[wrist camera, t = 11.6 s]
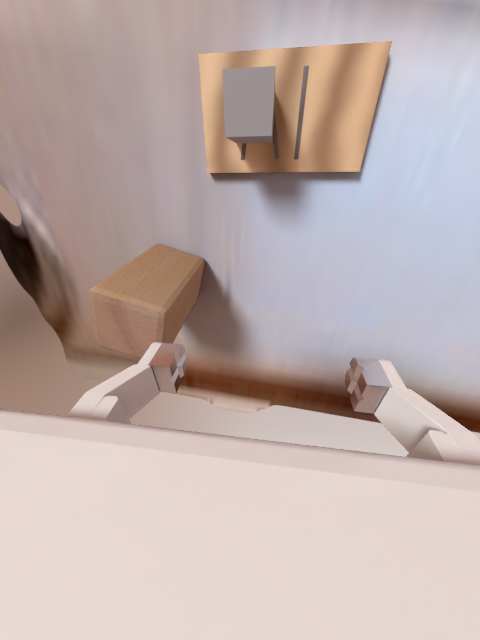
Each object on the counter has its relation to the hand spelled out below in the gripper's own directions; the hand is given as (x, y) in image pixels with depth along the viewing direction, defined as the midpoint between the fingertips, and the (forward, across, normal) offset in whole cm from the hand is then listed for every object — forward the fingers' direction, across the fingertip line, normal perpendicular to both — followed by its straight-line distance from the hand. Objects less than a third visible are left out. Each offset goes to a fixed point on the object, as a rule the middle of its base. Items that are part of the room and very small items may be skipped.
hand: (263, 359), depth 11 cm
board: (+33, -1, -13) cm, 36 cm away
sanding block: (+32, +3, -13) cm, 34 cm away
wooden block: (+33, +18, +10) cm, 39 cm away
